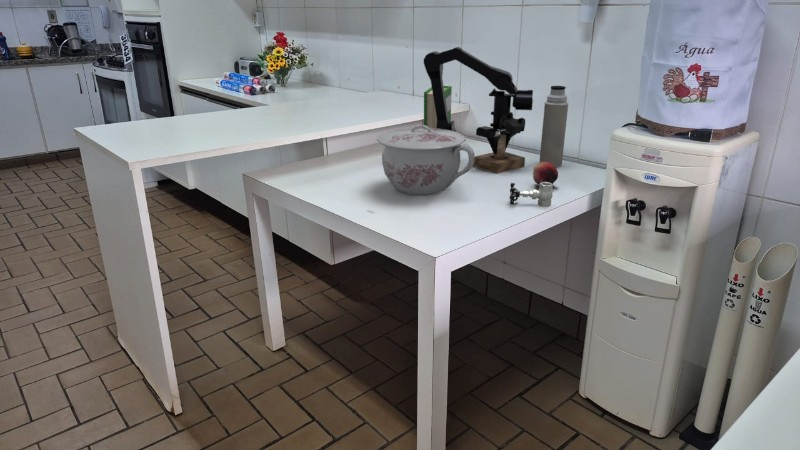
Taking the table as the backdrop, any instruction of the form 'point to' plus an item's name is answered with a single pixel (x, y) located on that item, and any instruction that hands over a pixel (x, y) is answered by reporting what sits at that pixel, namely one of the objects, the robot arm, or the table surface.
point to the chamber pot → (423, 158)
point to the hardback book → (429, 106)
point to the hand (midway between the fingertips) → (499, 153)
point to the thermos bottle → (554, 126)
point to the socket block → (499, 162)
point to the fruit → (545, 173)
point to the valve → (534, 194)
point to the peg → (501, 147)
